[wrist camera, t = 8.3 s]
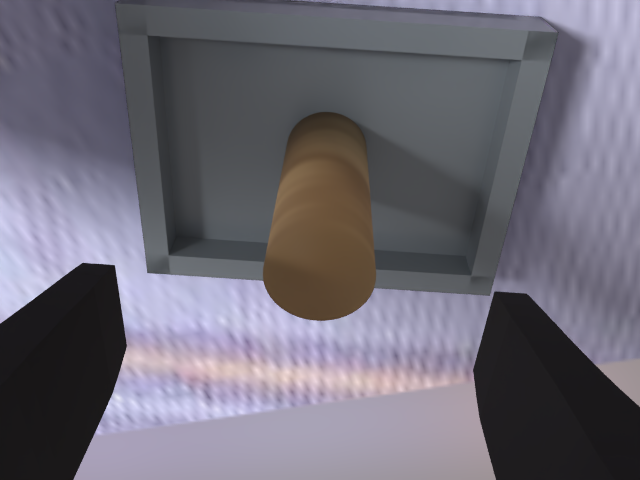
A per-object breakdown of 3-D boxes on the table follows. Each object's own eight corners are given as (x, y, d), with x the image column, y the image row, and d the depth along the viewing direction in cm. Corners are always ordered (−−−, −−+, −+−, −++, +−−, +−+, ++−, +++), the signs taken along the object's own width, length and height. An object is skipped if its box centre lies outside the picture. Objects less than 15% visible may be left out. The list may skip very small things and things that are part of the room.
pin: (286, 184, 21) (263, 317, 15) (286, 110, 19) (261, 226, 13) (363, 186, 21) (371, 323, 15) (369, 113, 19) (380, 231, 13)
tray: (160, 244, 23) (147, 273, 21) (134, -10, 18) (114, 3, 17) (480, 266, 23) (489, 295, 21) (540, 16, 18) (558, 32, 17)
